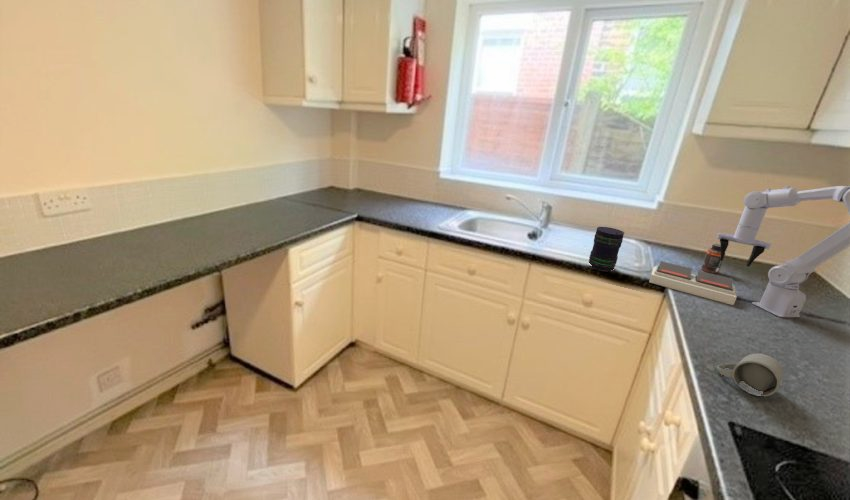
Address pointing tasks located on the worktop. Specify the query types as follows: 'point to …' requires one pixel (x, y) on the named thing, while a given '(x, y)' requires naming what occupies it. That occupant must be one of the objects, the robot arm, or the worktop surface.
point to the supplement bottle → (712, 259)
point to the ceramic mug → (755, 373)
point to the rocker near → (714, 280)
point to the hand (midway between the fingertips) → (734, 262)
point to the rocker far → (674, 270)
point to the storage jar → (606, 248)
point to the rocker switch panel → (693, 287)
